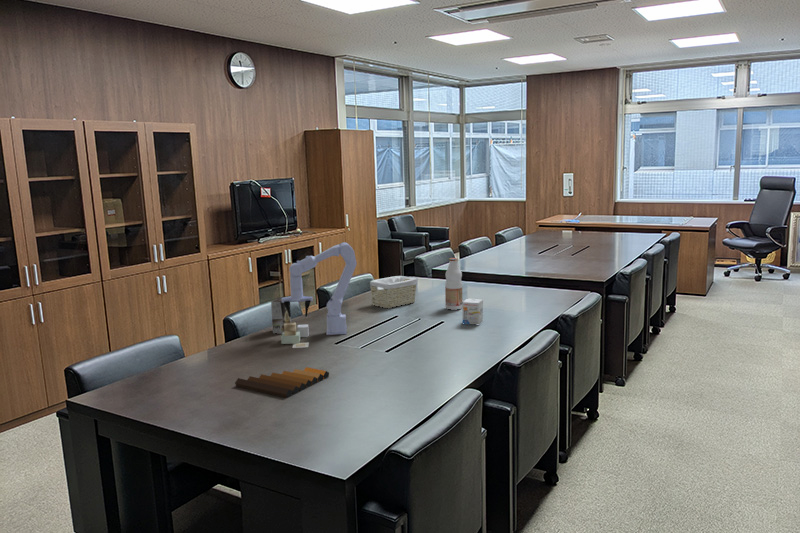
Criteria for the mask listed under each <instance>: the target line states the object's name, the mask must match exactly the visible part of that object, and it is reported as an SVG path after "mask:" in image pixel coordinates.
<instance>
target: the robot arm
mask: <svg viewBox="0 0 800 533" xmlns="http://www.w3.org/2000/svg"><path fill="white" fill-rule="evenodd" d="M355 253H356V252H355V250H354V249H353V247H352V246H351V245H350V244H349V243H348V242H345V241H343V242H341V243H339V244H336V245H333V246H331V247H329V248H327V249H326V250H324V251H322V252H320V253H318V254H316V255H315V256H313V255H305V258H303V259H301V260H296V262H293V263H291V264H290V266H289V267H288V268H289V269H288V270H289V284H290V286H289V287H290V296H288V297H281V298H282V303H284V305H285V307H286V309H287V311H288V314H289V317H291V318H292V311H291V303H294V302H295V303H297V302H304V307H305V310H304V311H305V314H304V315H305V317H308V310H309V308H310V305H311V302H314V297H313V296H305V295H304V290H303V289H304V286H303V278H302V274H303V273H305V272H307V271H309V270H311V269H313V268H315V267H317V264H318V263H319V262H321V261H325V260H326V259H329V258H331V257H340V256H341V257H342V258H343V260H344V263H345V265H344V267H343V271H342V273H341V275H340V278H339V280H338V283H337V286H336V287H335V289H334V293H333V294H332V295H331V297H330V299H329V300H328V301H327V302H326V309H327V313H326V335H327V336H329V335H330V336H332V335H346V334H347V329H348V327H347V319H346V318H347V315H346V314H342V304H343V301H344V296H345V295H346V291H347V289H348V287H349V285H350V281H351V280H352V277H353V274H354V271H355V269H356V267H357V258H356V254H355Z"/></svg>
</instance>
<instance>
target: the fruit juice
mask: <svg viewBox="0 0 800 533" xmlns="http://www.w3.org/2000/svg"><path fill="white" fill-rule="evenodd" d="M448 262H449V264H448V267H447V269H446V271H445V284H444V287H445V288H444V289H445V292H444V293H445V296H444V298H445V309H446V308H447V309H446V310H448V309H451V310H450V311H458V310H457V309H460V310H462V309H461V308H462V302H463V301H464V300H463V281H462V277H463V272H462V271H461V269H460V265H459V263H458V262H459V258H457V257H450V258H448Z"/></svg>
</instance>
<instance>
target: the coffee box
mask: <svg viewBox="0 0 800 533" xmlns="http://www.w3.org/2000/svg"><path fill="white" fill-rule="evenodd" d="M282 298H283V297H277V298H275V299H273V300H271V303H270V304H271V322H272V334H275V333H277V334H278V335H279V334H281V335H282V333H284V324H285V323H291V322H292V319H291V318H292V316H291V317H289V314H288V311H287V309H286V307H285V305H284V303H282Z"/></svg>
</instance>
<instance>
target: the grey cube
mask: <svg viewBox="0 0 800 533" xmlns="http://www.w3.org/2000/svg"><path fill="white" fill-rule="evenodd" d="M296 332H300V338H308V337H309V335H310V330H309V323H308V324H307V323H306V324H298V325H296Z"/></svg>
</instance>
